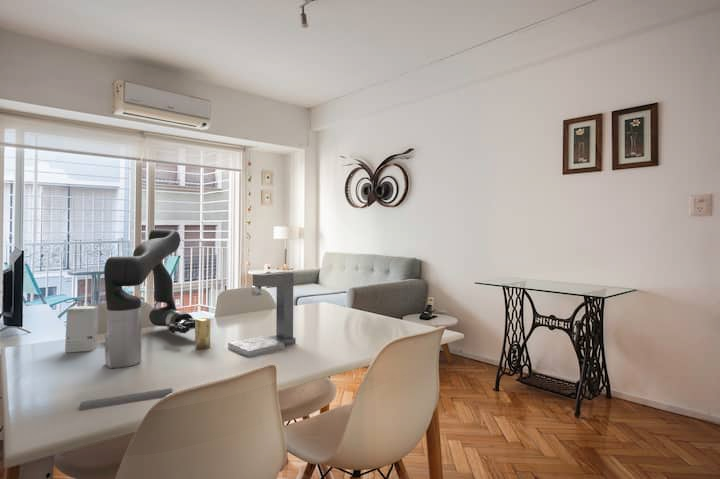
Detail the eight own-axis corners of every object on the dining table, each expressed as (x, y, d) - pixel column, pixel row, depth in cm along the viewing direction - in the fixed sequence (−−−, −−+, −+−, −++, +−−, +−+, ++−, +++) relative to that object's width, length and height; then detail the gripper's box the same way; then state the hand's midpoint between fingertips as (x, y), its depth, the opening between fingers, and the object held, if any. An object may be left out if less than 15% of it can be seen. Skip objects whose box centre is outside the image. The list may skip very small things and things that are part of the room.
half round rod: (172, 398, 104) (172, 391, 104) (79, 413, 95) (79, 405, 95) (171, 392, 108) (171, 385, 107) (82, 406, 99) (82, 398, 99)
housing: (198, 350, 143) (198, 321, 143) (192, 347, 146) (192, 319, 146) (212, 347, 146) (212, 319, 146) (206, 344, 150) (206, 317, 150)
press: (248, 357, 136) (248, 278, 135) (220, 344, 150) (220, 273, 149) (300, 344, 151) (300, 273, 150) (270, 334, 165) (270, 269, 164)
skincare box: (64, 353, 139) (64, 309, 139) (71, 348, 145) (71, 305, 144) (93, 351, 141) (93, 307, 141) (99, 346, 147) (98, 304, 147)
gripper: (160, 314, 156) (177, 321, 144) (197, 309, 166) (216, 315, 154) (160, 334, 156) (177, 342, 145) (197, 328, 166) (216, 335, 155)
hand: (197, 328), depth 150 cm, fingers open, 8 cm apart
